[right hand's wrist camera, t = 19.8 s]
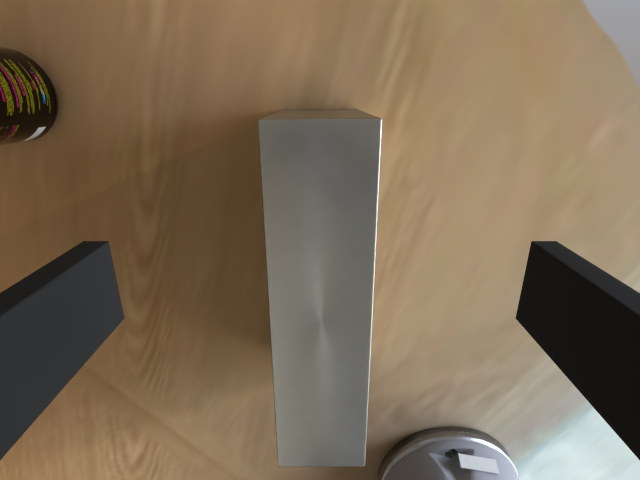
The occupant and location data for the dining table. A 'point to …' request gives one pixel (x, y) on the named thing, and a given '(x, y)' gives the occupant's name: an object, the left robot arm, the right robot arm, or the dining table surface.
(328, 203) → the box
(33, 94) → the supplement container
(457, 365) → the dining table surface
